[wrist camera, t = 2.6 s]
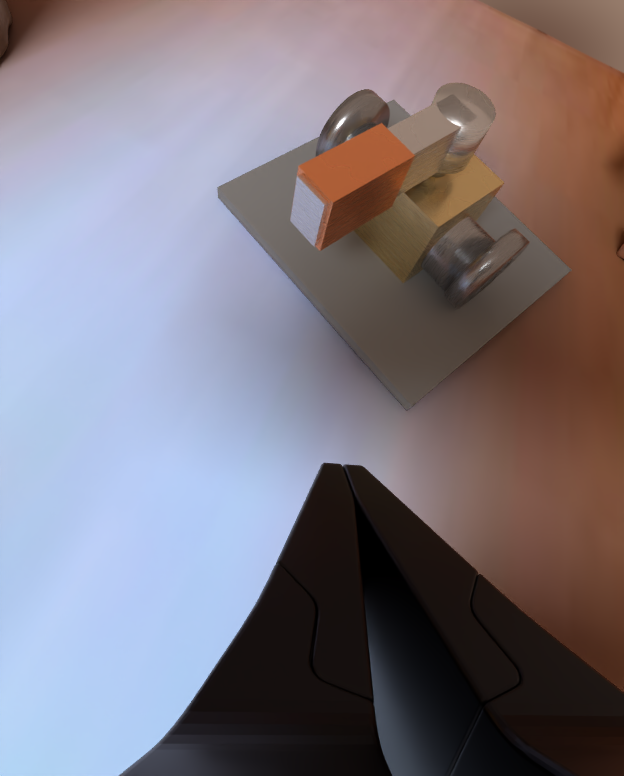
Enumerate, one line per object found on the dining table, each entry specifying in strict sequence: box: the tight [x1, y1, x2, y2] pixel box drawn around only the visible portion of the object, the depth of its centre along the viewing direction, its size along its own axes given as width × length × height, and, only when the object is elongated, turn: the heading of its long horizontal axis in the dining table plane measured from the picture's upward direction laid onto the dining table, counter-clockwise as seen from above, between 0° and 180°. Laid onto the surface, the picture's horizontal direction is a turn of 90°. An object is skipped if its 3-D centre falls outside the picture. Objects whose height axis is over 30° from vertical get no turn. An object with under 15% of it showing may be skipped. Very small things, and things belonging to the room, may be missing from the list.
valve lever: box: [290, 83, 496, 251], centre depth 19 cm, size 10×3×3 cm, turn 130°
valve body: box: [316, 89, 530, 309], centre depth 24 cm, size 12×5×6 cm, turn 40°
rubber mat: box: [218, 100, 571, 410], centre depth 27 cm, size 17×15×1 cm
